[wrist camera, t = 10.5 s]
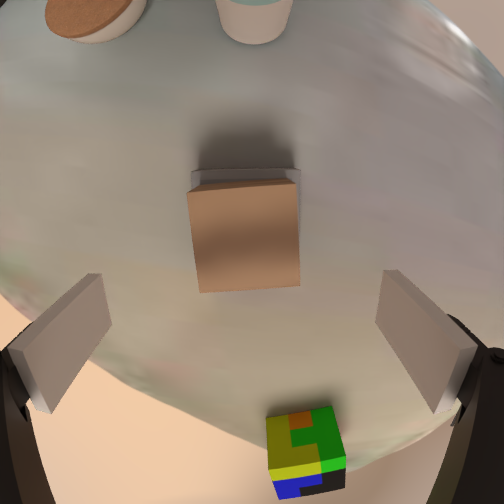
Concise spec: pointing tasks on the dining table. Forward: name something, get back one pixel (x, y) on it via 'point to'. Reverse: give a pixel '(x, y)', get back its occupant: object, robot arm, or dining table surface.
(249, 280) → the walnut brick
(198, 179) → the tower base
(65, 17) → the lidded jar
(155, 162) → the dining table surface
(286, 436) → the puzzle toy
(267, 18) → the can
